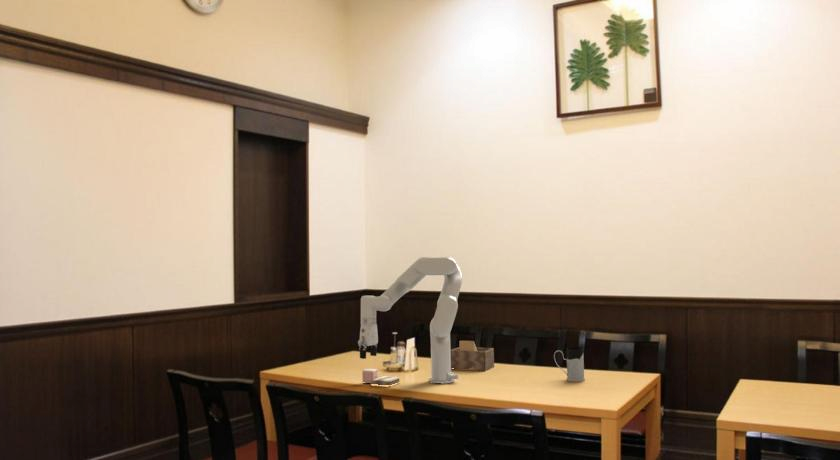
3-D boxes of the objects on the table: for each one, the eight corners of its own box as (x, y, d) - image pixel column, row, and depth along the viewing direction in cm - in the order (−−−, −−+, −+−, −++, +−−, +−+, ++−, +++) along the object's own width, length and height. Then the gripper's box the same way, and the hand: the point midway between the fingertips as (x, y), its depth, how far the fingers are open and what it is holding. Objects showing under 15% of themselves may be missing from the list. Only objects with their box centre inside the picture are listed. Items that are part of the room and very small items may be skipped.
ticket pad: (399, 383, 319) (399, 376, 319) (389, 387, 310) (389, 380, 310) (381, 382, 323) (381, 375, 323) (370, 386, 314) (370, 379, 314)
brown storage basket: (494, 367, 358) (493, 348, 359) (485, 371, 346) (484, 351, 347) (460, 365, 367) (460, 346, 367) (450, 369, 355) (450, 350, 355)
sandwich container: (485, 367, 362) (485, 339, 364) (474, 370, 349) (474, 341, 350) (471, 366, 366) (470, 338, 368) (459, 369, 353) (459, 340, 354)
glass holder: (585, 381, 313) (584, 349, 313) (554, 381, 316) (553, 349, 316) (584, 378, 321) (583, 346, 322) (554, 377, 324) (553, 346, 325)
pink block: (377, 382, 320) (377, 369, 321) (373, 384, 317) (373, 370, 317) (366, 382, 323) (366, 368, 323) (362, 383, 320) (362, 370, 320)
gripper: (365, 323, 312) (365, 360, 311) (384, 320, 327) (383, 355, 326) (352, 322, 315) (352, 359, 314) (370, 319, 330) (370, 354, 330)
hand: (368, 357), depth 320 cm, fingers open, 9 cm apart
